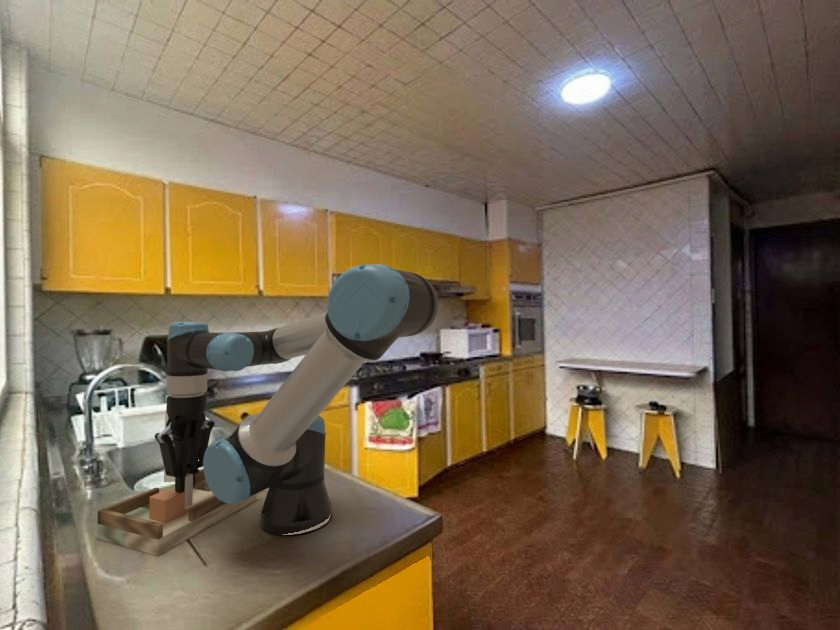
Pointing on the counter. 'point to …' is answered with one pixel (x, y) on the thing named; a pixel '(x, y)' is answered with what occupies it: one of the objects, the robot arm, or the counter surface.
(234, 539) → the counter surface
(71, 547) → the counter surface
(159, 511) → the block
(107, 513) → the box
